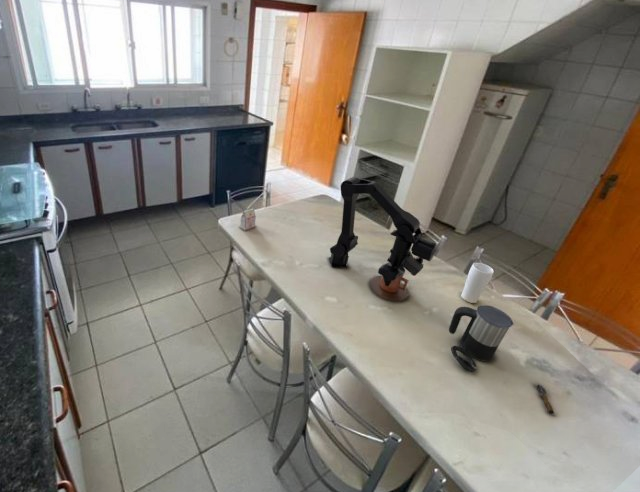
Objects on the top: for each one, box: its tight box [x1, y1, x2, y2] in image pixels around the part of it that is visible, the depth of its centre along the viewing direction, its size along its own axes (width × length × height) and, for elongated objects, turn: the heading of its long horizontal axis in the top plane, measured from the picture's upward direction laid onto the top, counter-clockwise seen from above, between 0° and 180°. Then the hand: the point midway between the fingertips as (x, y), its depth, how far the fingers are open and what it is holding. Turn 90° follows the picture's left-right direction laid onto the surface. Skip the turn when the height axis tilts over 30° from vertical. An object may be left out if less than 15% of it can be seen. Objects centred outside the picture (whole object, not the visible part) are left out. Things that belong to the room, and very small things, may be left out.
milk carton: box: [239, 207, 257, 231], centre depth 166 cm, size 4×7×10 cm, turn 129°
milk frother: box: [448, 304, 514, 372], centre depth 100 cm, size 14×16×15 cm
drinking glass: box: [460, 262, 495, 304], centre depth 124 cm, size 7×7×15 cm
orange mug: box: [380, 262, 409, 293], centre depth 127 cm, size 9×7×9 cm
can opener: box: [536, 384, 555, 414], centre depth 91 cm, size 9×2×1 cm, turn 152°
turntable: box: [369, 275, 409, 303], centre depth 130 cm, size 14×14×1 cm
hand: (390, 281), depth 128 cm, fingers closed on orange mug, 7 cm apart
